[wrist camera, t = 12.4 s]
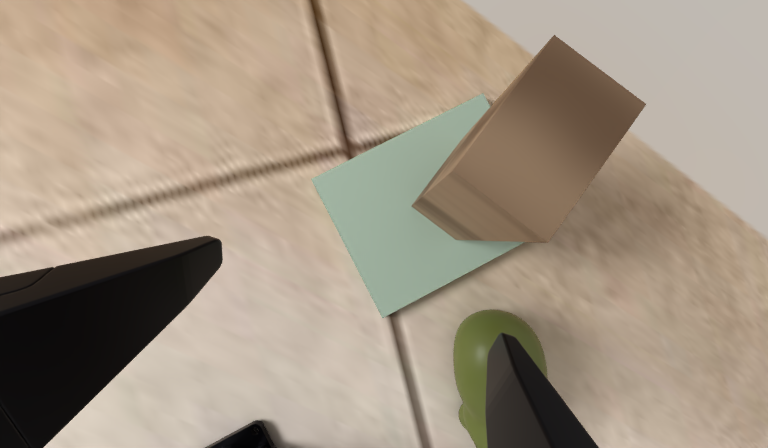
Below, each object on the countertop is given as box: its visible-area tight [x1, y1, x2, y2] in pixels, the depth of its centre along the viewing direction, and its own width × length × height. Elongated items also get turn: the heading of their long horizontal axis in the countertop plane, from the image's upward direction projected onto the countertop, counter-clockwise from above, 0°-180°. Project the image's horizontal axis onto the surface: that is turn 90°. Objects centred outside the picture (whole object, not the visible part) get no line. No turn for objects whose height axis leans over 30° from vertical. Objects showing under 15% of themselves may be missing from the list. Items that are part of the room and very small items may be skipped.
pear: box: [453, 310, 547, 448], centre depth 19 cm, size 6×5×10 cm
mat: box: [311, 94, 524, 318], centre depth 21 cm, size 14×11×1 cm
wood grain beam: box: [412, 35, 646, 243], centre depth 15 cm, size 6×4×11 cm, turn 143°
